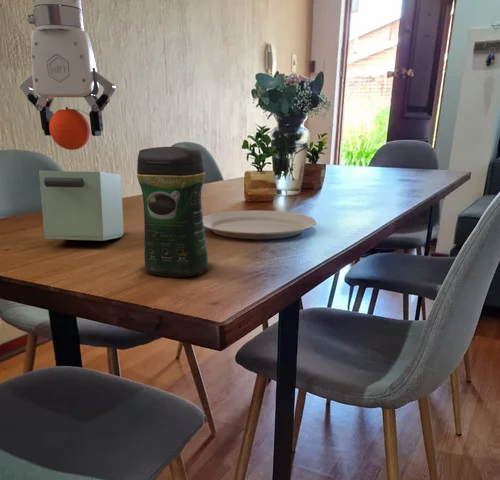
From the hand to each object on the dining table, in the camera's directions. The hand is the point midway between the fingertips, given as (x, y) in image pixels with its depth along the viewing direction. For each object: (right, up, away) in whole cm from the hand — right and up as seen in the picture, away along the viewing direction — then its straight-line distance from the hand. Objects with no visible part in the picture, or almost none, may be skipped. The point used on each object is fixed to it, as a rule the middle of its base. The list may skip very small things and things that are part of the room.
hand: (73, 135), depth 91 cm
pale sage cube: (0, -17, +6) cm, 18 cm away
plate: (+33, -13, +20) cm, 41 cm away
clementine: (0, -3, +1) cm, 3 cm away
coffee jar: (+20, -26, -11) cm, 35 cm away
